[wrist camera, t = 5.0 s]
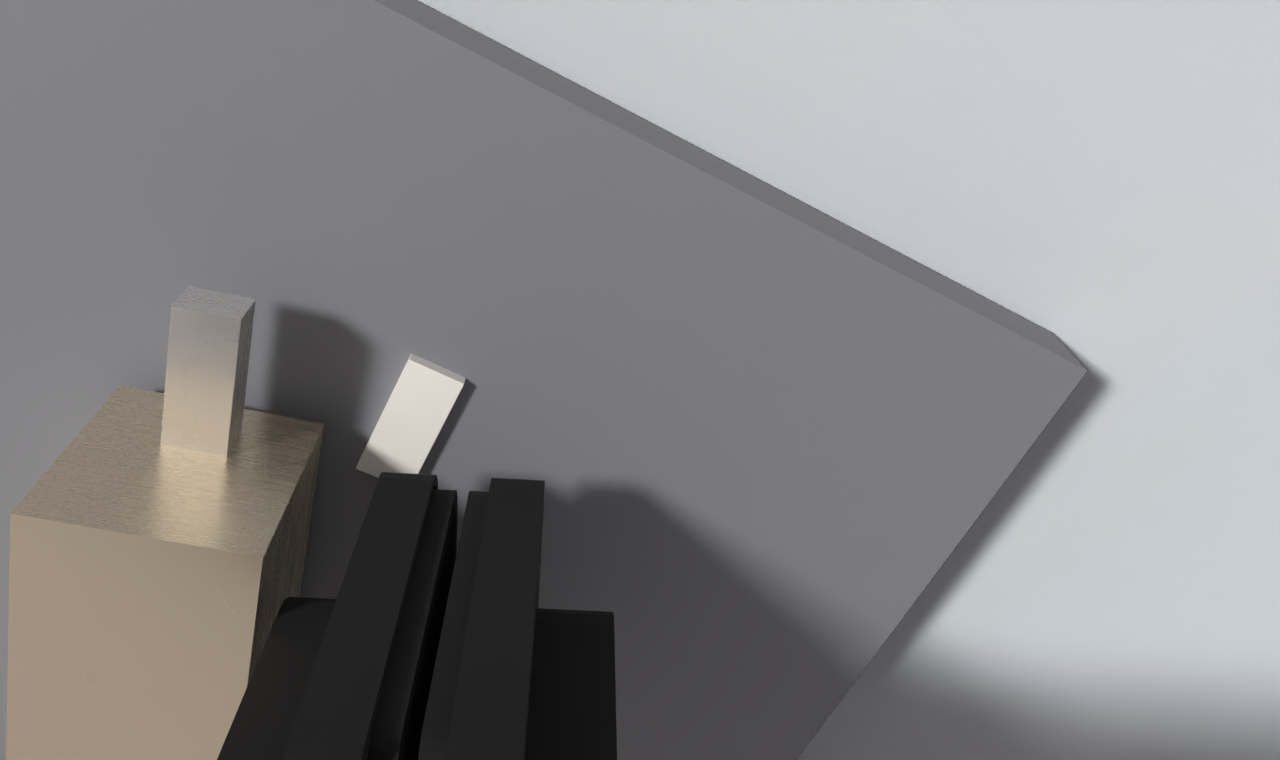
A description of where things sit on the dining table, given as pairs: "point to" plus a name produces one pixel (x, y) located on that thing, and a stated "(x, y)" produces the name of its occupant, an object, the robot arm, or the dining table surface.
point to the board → (511, 332)
